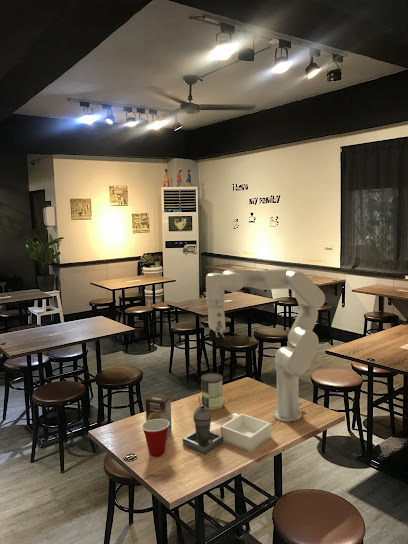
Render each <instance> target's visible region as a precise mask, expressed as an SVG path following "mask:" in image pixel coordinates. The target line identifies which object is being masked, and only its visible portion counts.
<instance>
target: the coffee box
mask: <svg viewBox="0 0 408 544" xmlns="http://www.w3.org/2000/svg"><path fill="white" fill-rule="evenodd" d="M153 419H165V420H167V421H169V427H168V432H167V438H168V437H169V436H170V434H172V432H173V431H172V430H173V429H172V396H170V395H164V394H158V393H151V394H150V395H149V396H147V397H145V420H146V421H145V422H147V421H149V420H153Z"/></svg>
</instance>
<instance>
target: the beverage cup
mask: <svg viewBox="0 0 408 544" xmlns="http://www.w3.org/2000/svg"><path fill="white" fill-rule="evenodd" d="M198 403H199V407H196V409H195V410H194V413H193V422H194V427H195V431H196V437H197V439H196V443H199V444H201V445H203V446H205V445H206V444H208V443H210V439H209V436H210V431H211V423H212V413H211V410H209V409H208V408H207V407H204V406H202V401H201V396H198Z"/></svg>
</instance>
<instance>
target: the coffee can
mask: <svg viewBox="0 0 408 544" xmlns="http://www.w3.org/2000/svg"><path fill="white" fill-rule="evenodd" d="M223 380H224V379H223V376H222V374H219V373H214V372H213V373H212V372H210V373H209V372H208V373H205V374H202V375H201V377H200V382H201V384H200V386H201V406H204V407H207V408H208V409H209V410H210V411H212V410H218V409H221V408H222V407H223V406H224V403H223V401H224V400H223V391H224V390H223Z"/></svg>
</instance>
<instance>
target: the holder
mask: <svg viewBox="0 0 408 544" xmlns="http://www.w3.org/2000/svg"><path fill="white" fill-rule="evenodd" d="M209 440H210V441H209V443H208V444H206V445H205V446H203V445H201V444H199V443H197V437H196V430H195V431H193V432H192V433H190V434H188V435H186V436H185V437H183V438H182V446H184V447H185V448H188V449H189V450H192V451H194V452H196V453H199V454H201V455H203V456H206V455H207V454H209V453H210V452H212V451H213V450H215V449H217V448H218V447H219V446H221V445H222V444H224V441H223V436H222V435H221V433H217V432H214V431H212V430H210V436H209Z"/></svg>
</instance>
